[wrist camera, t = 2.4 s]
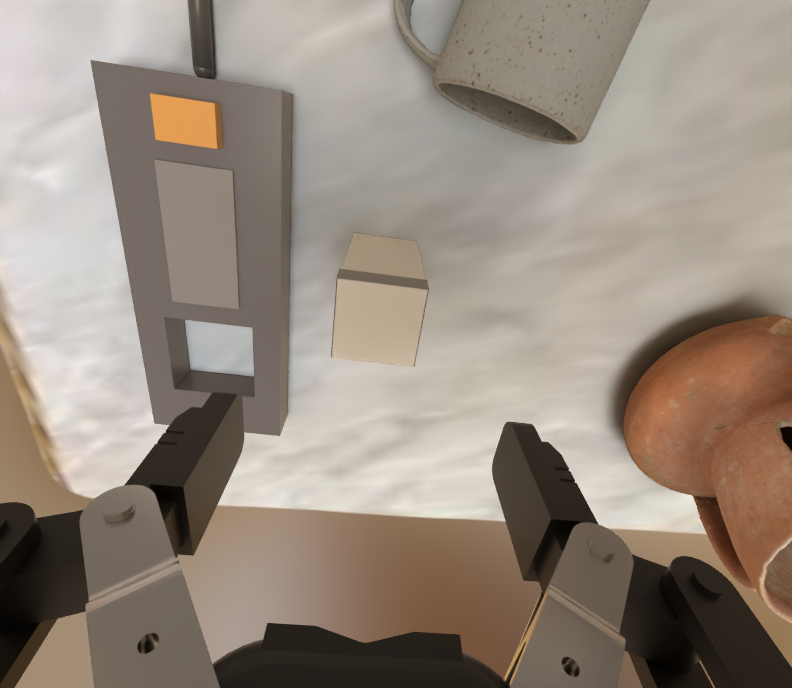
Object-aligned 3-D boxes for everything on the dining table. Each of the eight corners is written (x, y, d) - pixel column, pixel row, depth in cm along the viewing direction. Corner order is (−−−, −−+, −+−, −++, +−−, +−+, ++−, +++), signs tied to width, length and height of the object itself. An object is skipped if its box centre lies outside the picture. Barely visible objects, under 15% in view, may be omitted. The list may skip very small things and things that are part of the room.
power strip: (93, -118, 18) (37, -166, 15) (295, -80, 19) (277, -118, 16) (171, 402, 32) (148, 430, 29) (287, 414, 32) (277, 443, 29)
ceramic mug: (629, -29, 20) (750, -114, 13) (547, 146, 23) (608, 151, 17) (428, -129, 18) (446, -285, 12) (373, 74, 22) (361, 47, 15)
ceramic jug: (647, 282, 27) (863, 411, 15) (853, 291, 28) (1231, 423, 15) (578, 476, 36) (680, 663, 23) (738, 481, 36) (922, 667, 24)
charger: (353, 231, 26) (336, 277, 18) (417, 240, 26) (429, 289, 18) (348, 293, 28) (330, 360, 20) (407, 301, 28) (414, 369, 20)
